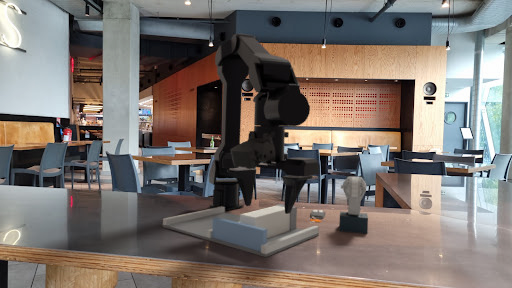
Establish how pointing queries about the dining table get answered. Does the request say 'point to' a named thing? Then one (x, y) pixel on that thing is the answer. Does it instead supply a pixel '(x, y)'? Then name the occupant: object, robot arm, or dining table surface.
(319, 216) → the key chain
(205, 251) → the dining table surface
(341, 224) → the bust statue
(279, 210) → the cream rectangular block
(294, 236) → the grey rimmed tray
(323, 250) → the dining table surface
